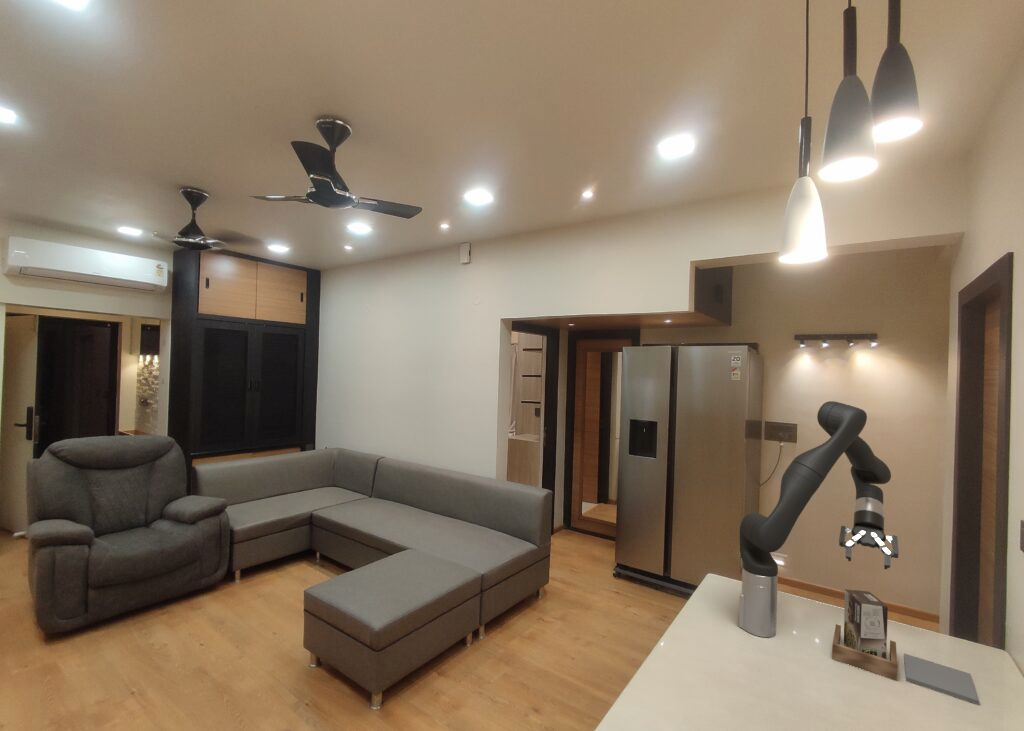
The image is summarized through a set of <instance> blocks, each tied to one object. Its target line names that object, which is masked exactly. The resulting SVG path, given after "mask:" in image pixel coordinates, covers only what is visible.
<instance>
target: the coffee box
mask: <svg viewBox="0 0 1024 731" xmlns="http://www.w3.org/2000/svg"><path fill="white" fill-rule="evenodd" d="M888 608H889V605H887V604H886V603H884V602H883V601H882V600H880V599H879V598H878V597H876V596H875V595H874V593H872V592H871V591H869V590H868V591H865V590H855V589H846V588H845V589H844V609H843V610H844V612H843V615H844V616H843V622H844V623H843V646H846V647H849V648H853V649H856V650H859V651H862V652H865V653H868V654H871V655H875V656H878V657H881V658H884V659H887V643H888V642H887V641H888V616H889V615H888V611H889V609H888Z"/></svg>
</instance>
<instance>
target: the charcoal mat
mask: <svg viewBox="0 0 1024 731" xmlns="http://www.w3.org/2000/svg"><path fill="white" fill-rule="evenodd" d="M903 661H904V663H903V664H904V671H905V681H906V682H909V683H912V684H914V685H917V686H920V687H924V688H926V689H929V688H930V689H929V690H932V691H935V692H939V693H941V694H943V695H948V696H950V697H953V698H956V699H958V700H962V701H965V702H968V703H971V704H974V705H977V706H980V699H979V696H978V692H977V690H976V687H975V683H974V681H973V678H972V675H971V673H969V672H966V671H963V670H960V669H958V668H957V669H956V668H954V667H953V668H952V667H950V666H946V665H943V664H940V663H937V662H934V661H931V660H927V659H923V658H920V657H917V656H914V655H911V654H907V653H903Z"/></svg>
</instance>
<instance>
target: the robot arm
mask: <svg viewBox="0 0 1024 731" xmlns="http://www.w3.org/2000/svg"><path fill="white" fill-rule="evenodd" d="M867 415H868V414H867V412H866V411H865V410H864V409H862V408H859V407H857V406H853V405H849V404H845V403H842V402H838V401H835V400H834V401H833V400H831V401H826V402H824V403H823V404H822V405H821V406H820V408H819V409H818V411H817V415H816V416H817V417H816V418H817V419H816V420H817V423H818V424H819V426H820V427H821V428H822V429H823V431H824V432H826V433H827V434H828V435H829V436H830V438H829V439H827V440H826V441H824V442H823V443H822V444H819V445H817V446H815V447H813V448H810V449H809V450H807V451H804V452H802V453H800V454H798V455H797V456H796V457H794V458H793V460H792V461H791V463H789V465H788V466H787V468H786V469H785V471H784V473H783V474H782V477H781V480H780V492H779V499H778V501H777V504H776V505H775V507H774V508H773V510H772V511H771V513H770V514H769V515H768V516H766V515H763V514H761V513H758V512H750V513H748V514H746V515H745V516H744V517H743V518H742V520H741V522H740V525H739V555H740V559H741V561H742V574H741V592H740V594H739V609H738V610H739V612H738V614H739V615H738V627H739V628H741V629H743V630H745V631H746V632H747V633H749V634H751V635H755V636H757V637H761V638H773V637H774V636H776V633H777V611H778V608H777V606H778V583H779V582H778V580H779V578H778V576H779V571H778V570H779V567H778V566H779V565H778V563H777V562H776V560H775V559H774V558H773V556H772V554H771V553H775V552H777V551H779V550H780V549H781V548H782V547H783V545H784V544H785V543H786V541H787V539H788V537H789V536H790V534H791V532H792V530H793V528H794V526H795V525H796V523H797V520H798V519H799V516H800V515H801V514H802V513H803V511H804V509H805V508H806V506H807V504H808V503H809V502H810V500H811V499H812V498H813V496H814V495H815V493H816V492H817V491H818V489H819V488H820V487H821V485H822V483H823V482H824V481H825V480H826V478H827V476H828V474H829V473H830V471H831V470H832V468H833V467H834V465H835V464H836V463H837V461H838V460H839V459H840V457H841V456H842V455H843V453H844V454H845V456H846V458H847V460H848V461H849V463H850V464H851V467H850V474H851V477H852V480H853V483H854V486H855V504H854V510H853V526H852V528H847V527H846V525H841V527H840V531H839V538H838V546H839V547H841V548H842V547H843V548H844V549H845V553H844V554H845V559H847V561H848V562H852V550H853V549H854V548H855V547H857V546H859V545H861V546H863V547H869V548H872V549H875V548H877V550H878V551H879V552H880V553H881V554H883V556H884V560H883V561H884V563H883V567H884V568H883V570H888V569H890V568H891V565H892V564H891V560H892V558H894V559H898V558H899V554H900V552H899V543H898V536H897V535H892V536H891V535H886V534H885V509H884V491H883V490H882V489H881V487H879V486H877V485H885V484H887V483H889V482H890V481H891V478H892V473H891V470H890V468H889V466H888V464H886V463H885V462H884V461H883V460H881V459H880V458H879V457H878V456H876V455H875V454H874V451H873V450H872V447H870V445H869V444H868V443H867V442H866V441H865V440H864V439H863V438H862V437H860V436H859V435H860V434H861V433H862V431H863V430H864V428H865V427H866V423H867V420H868V416H867ZM850 534H851V536H852V538H851V539H850V540H848V541H846V536H849V535H850ZM886 541H888V544H889V545H891V546H892V547H891V548H892V550H889V549H888V548H887V546H886V544H885V542H886Z"/></svg>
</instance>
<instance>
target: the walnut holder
mask: <svg viewBox="0 0 1024 731" xmlns="http://www.w3.org/2000/svg"><path fill="white" fill-rule="evenodd" d="M834 626H835V627H834V634H833V639H832V644H831V646H832V648H831V649H832V650H831V660H833V661H836V662H839V663H842V664H844V663H845V664H846V665H847V664H849V665H848V666H850V665H851V667H853V666H854V668H856V667H858V668H857V669H859V668H861V669H860V670H862V669H864V670H863V671H865V670H866V671H865V672H868V671H869V672H868V673H872V674H874V673H875V674H874V675H877V674H878V675H877V676H880V675H881V676H880V677H883V676H884V678H887V679H889V680H893V681H895V682H898V655H897V654H898V652H897V642H896V641H893V640H889V659H888V658H886V659H884V658H881V657H878V656H875V655H871V654H868V653H865V652H862V651H859V650H856V649H853V648H849V647H846V646H844V644H841V640H842V639H841V636H842V635H841V632H842V631H841V630H842V629H841V628H842V625H840V624H836V623H835V625H834Z"/></svg>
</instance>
